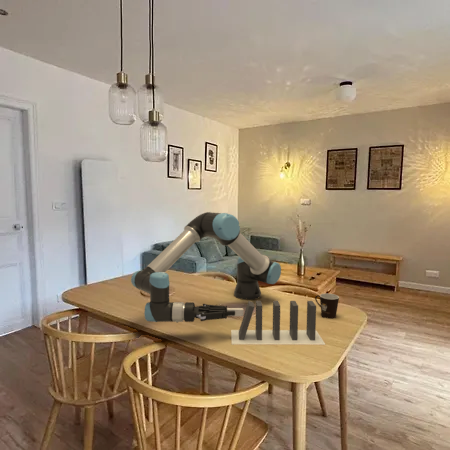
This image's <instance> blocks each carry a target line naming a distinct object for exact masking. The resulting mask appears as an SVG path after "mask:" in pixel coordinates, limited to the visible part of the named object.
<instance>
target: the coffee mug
mask: <svg viewBox="0 0 450 450" xmlns="http://www.w3.org/2000/svg"><path fill="white" fill-rule="evenodd" d="M317 297H318V298H319V302H318V299H317ZM314 300H315V302H316V304H317V305H318V307H320V313H321V314H320V315H321V318H322V319H330V320H331V319H336V318H337V312H338V306H339V300H340V296H339V295H337V294H334V293H321V294H319V295H316V296H315V299H314Z"/></svg>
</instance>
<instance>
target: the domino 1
mask: <svg viewBox="0 0 450 450" xmlns="http://www.w3.org/2000/svg"><path fill="white" fill-rule="evenodd" d="M247 301H248V302H247V305H246V307H245V311H244V312H243V316H242V320H241V323H240V327H239V329H238V330H239V339H242V340H244V339H245V336H246V332H247V330H249V325H250V322H251V319H252V316H253V313H254V309H255V303H254V302H253V301H251V300H247Z"/></svg>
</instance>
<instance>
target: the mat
mask: <svg viewBox="0 0 450 450" xmlns="http://www.w3.org/2000/svg"><path fill="white" fill-rule="evenodd" d="M230 331H231V332H230V333H231V334H230V335H231V339H230V340H231V345H290V346H291V345H294V346H295V345H311V346H312V345H313V346H314V345H316V346H317V345H319V346H320V345H323V346H324V345H326V343H325V341H324V340H323V338H322V336H321V335H320V334H319V332H318V331H317V330H316V331H315V340H310V339H309V337H308V336H307V334H306V331H307V329H298V339H297V340H292V338H291V336H290V334H289V332H290V329H280V340H274V337H273V334H272V333H273V329H262V340H257V338H256V329H247V332H246V336H245V339H244V340H242V339H239V329H231V330H230Z"/></svg>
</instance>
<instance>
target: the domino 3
mask: <svg viewBox="0 0 450 450" xmlns="http://www.w3.org/2000/svg"><path fill="white" fill-rule="evenodd" d="M272 330H273V333H272V334H273V337H274V340H280V330H281V305H280V302H279V300H273V301H272Z"/></svg>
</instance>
